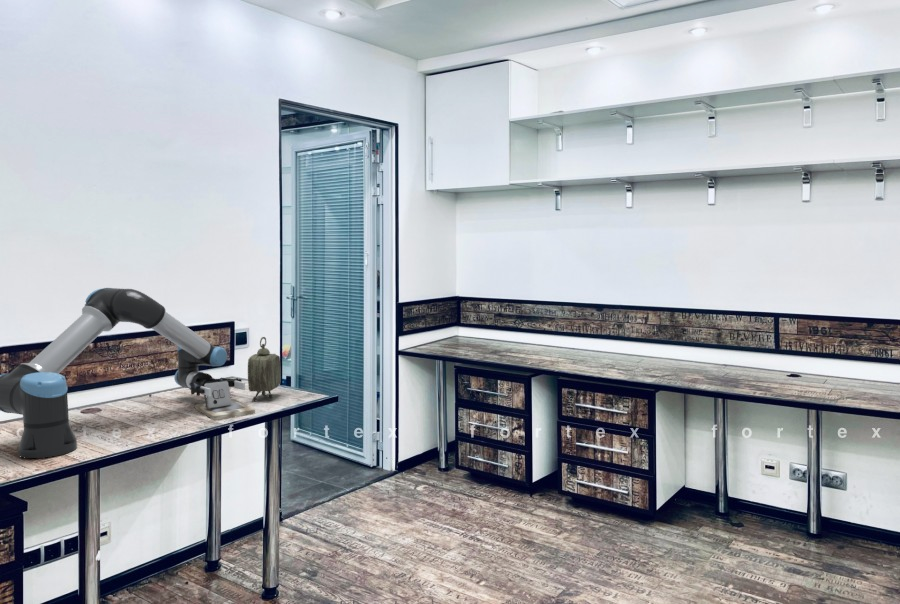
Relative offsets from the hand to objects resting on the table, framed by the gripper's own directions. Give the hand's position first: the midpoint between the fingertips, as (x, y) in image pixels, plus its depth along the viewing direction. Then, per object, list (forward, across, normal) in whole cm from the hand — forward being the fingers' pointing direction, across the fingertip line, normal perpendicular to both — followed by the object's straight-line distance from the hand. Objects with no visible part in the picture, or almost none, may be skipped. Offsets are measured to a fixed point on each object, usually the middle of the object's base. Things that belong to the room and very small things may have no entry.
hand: (227, 389), depth 240 cm
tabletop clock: (-9, -21, -9) cm, 25 cm away
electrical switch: (-4, +3, -7) cm, 8 cm away
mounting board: (-3, 0, -9) cm, 9 cm away
